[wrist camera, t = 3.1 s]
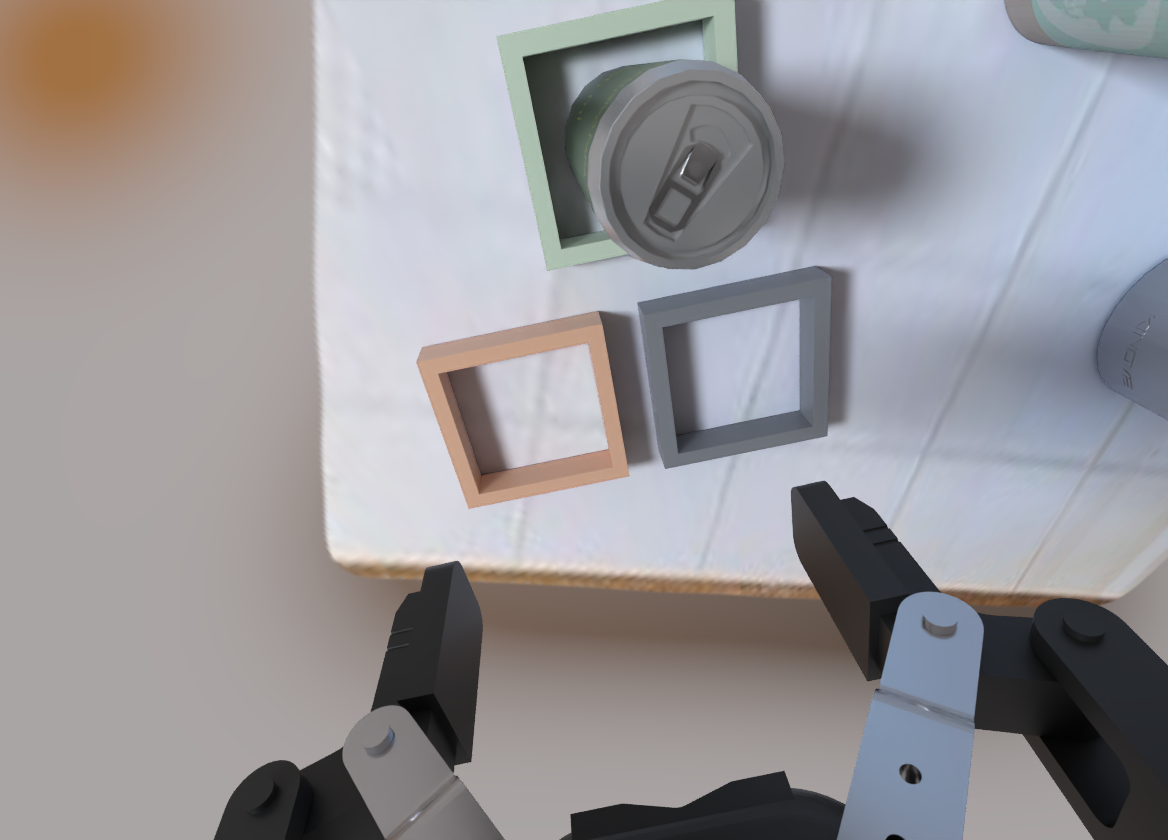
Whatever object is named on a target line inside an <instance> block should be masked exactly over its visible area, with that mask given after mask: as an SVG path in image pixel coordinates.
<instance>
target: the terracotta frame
mask: <svg viewBox="0 0 1168 840" xmlns="http://www.w3.org/2000/svg"><path fill="white" fill-rule="evenodd" d="M585 343H588V346H589V351H590V356H591V361H592V366H593V371H594V377H595V382H596V387H597V392H598V397H599V402H600V407H601V413H602V418H603V423H604V428H605V433H606V438H607V443H608V450H604V451H599V452H594V453H589V454H584V455H579V456H574V457H569V458H564V459H559V460H554V461H550V462H545V463H540V464H535V465H530V466H525V467H520V468H515V469H510V470H505V471H500V472H496V473H491V474H486V475H481V474H480V471H479V468H478V465H477V462H476V459H475V455H474V452H473V449H472V446H471V443H470V440H469V437H468V434H467V431H466V428H465V425H464V422H463V419H462V416H461V413H460V410H459V407H458V404H457V401H456V398H455V395H454V392H453V389H452V386H451V383H450V380H449V377H448V374H447V372H449V371H454V370H459V369H464V368H468V367H473V366H478V365H483V364H488V363H493V362H497V361H502V360H507V359H512V358H517V357H522V356H527V355H531V354H536V353H541V352H546V351H551V350H556V349H560V348H565V347H570V346H575V345H580V344H585ZM416 363H417V365H418V368H419V371H420V374H421V377H422V379H423V382H424V385H425V388H426V391H427V393H428V396H429V399H430V402H431V405H432V407H433V410H434V413H435V416H436V419H437V421H438V424H439V427H440V430H441V432H442V435H443V438H444V441H445V444H446V446H447V449H448V452H449V455H450V458H451V460H452V463H453V466H454V469H455V472H456V474H457V477H458V480H459V483H460V486H461V488H462V491H463V494H464V497H465V499H466V502H467V505H468V508H469V509H470V508H475V507H480V506H485V505H490V504H495V503H500V502H505V501H509V500H514V499H519V498H524V497H529V496H534V495H539V494H544V493H549V492H554V491H559V490H564V489H569V488H574V487H578V486H583V485H588V484H593V483H598V482H603V481H608V480H613V479H618V478H623V477H628V476H629V471H628V466H627V460H626V454H625V449H624V443H623V438H622V432H621V426H620V421H619V415H618V409H617V404H616V398H615V393H614V387H613V381H612V376H611V370H610V365H609V359H608V353H607V348H606V342H605V337H604V331H603V325H602V322H601V319H600V315H599V312H598V311H596V312H591V313H586V314H581V315H576V316H572V317H567V318H562V319H557V320H552V321H547V322H543V323H538V324H533V325H528V326H523V327H519V328H514V329H509V330H504V331H499V332H494V333H490V334H485V335H480V336H475V337H470V338H465V339H461V340H456V341H451V342H446V343H441V344H436V345H432V346H427V347H422V349H421V351H420V354H419V357H418V359H417V362H416Z"/></svg>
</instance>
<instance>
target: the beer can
mask: <svg viewBox="0 0 1168 840" xmlns="http://www.w3.org/2000/svg"><path fill="white" fill-rule="evenodd" d="M565 149H566V153H567V157H568V160H569V164H570V168H571V170H572V172H573V174H574V176H575V178H576V179H577V181H578V183H579V185H580V187H581V189H582V191H583V193H584V195H585V196H586V198H587V200H588V202H589V204H590V206H591V208H592V210H593V212H594V213H595V215H596V217H597V219H598V220H599V222H600V223H601V225H602V226H603V228H604V230H605V231H606V233H607V234H608V236H609V237H610V239H611V240H612V241H613V242H614V243H615V244H617V245H618V246H619V247H620V248H622V249H623V250H624V251H625V252H626V253H628V254H629V255H630V256H631V257H633V258H635V259H638V260H640V261H643V262H646V263H649V264H652V265H654V266H657V267H664V268H667V269H697V268H701V267H704V266H707V265H711V264H714V263H717V262H721V261H723V260H724V259H726V258H727V257H729V256H730V255H732V254H733V253H735V252H736V251H738V250H739V249H741V248H742V247H744V246H745V245H746V244H747V243H748V242H749V241H750V240H751V239H752V237H753V236H754V235H755V234H756V233H757V232H758V231H759V230H760V228H761V227H762V226H763V225H764V224H765V222H766V220H767V218H768V216H769V214H770V212H771V210H772V208H773V206H774V204H775V202H776V200H777V198H778V196H779V192H780V187H781V181H782V176H783V171H784V166H785V162H784V152H783V142H782V133H781V131H780V128H779V126H778V124H777V122H776V119H775V117H774V115H773V113H772V110H771V108H770V106H769V104H768V103H767V102H766V101H765V100H764V98H763V97H762V96H761V95H760V94H759V92H758V91H757V90H756V89H755V88H754V87H753V86H752V85H751V84H750V83H749V82H748V81H747V80H746V79H745V78H744V77H743V76H742V75H741V74H739V73H737V72H735V71H733V70H731V69H729V68H726V67H724V66H722V65H720V64H718V63H716V62H713V61H700V60H681V59H680V60H672V61H663V62H655V63H646V64H638V65H629V66H622V67H619V68H616V69H613V70H610V71H606V72H603V73H602V74H600V75H599V76H598V77H596V78H595V79H594V80H592V81H591V82H590V83H588V84H587V85H586V86H585V87H584V88H583V90H582V91H581V93H580V94H579V96H578V97H577V99H576V100H575V101H574V103H573V104H572V107H571V111H570V114H569V117H568V120H567V123H566V132H565Z"/></svg>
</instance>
